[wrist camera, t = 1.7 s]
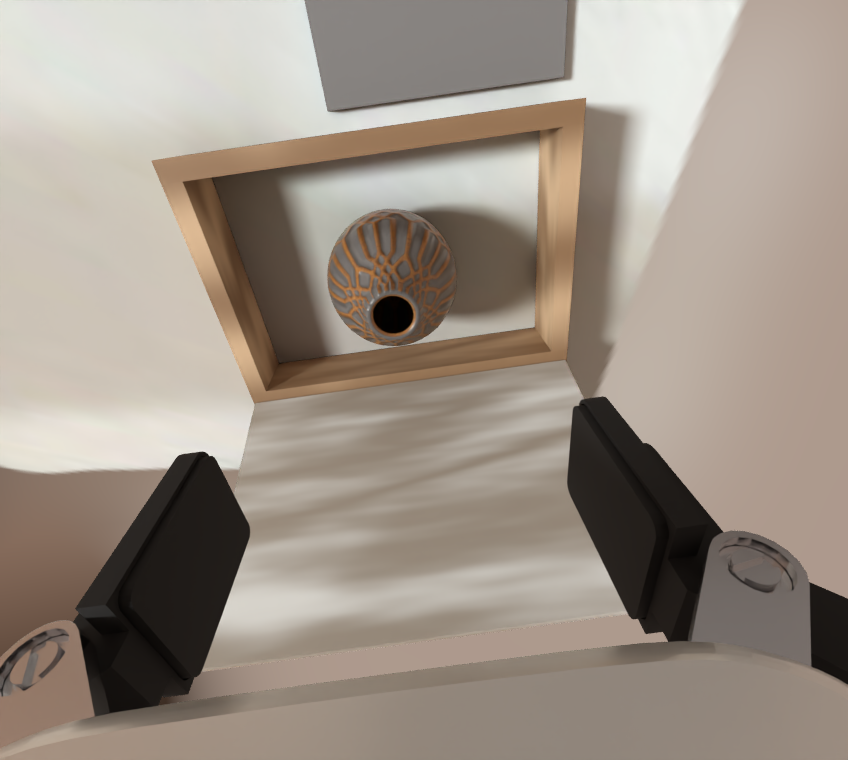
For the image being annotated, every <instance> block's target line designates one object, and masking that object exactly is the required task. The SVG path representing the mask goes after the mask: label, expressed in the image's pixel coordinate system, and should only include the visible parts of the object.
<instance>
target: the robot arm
mask: <svg viewBox="0 0 848 760" xmlns="http://www.w3.org/2000/svg"><path fill="white" fill-rule="evenodd" d="M567 486H568V491H569V494H570V496H571V498H572V500H573V502H574V504H575V506H576V509H577V511H578V513H579V515H580V517H581V519H582V521H583V523H584V525H585V527H586V529H587V531H588V533H589V535H590V537H591V539H592V541H593V543H594V546H595V548H596V550H597V552H598V554H599V556H600V558H601V560H602V562H603V564H604V566H605V568H606V570H607V572H608V574H609V576H610V578H611V580H612V582H613V585H614V587H615V589H616V591H617V593H618V595H619V597H620V599H621V601H622V603H623V605H624V607H625V609H626V611H627V613H628V614H629V616H630V617H631V618H632V619H638V620H639V622H640V624H641V626H642V628H643V630H644V632H645V633H646V634H648V633H657V632H663V633H664V634H665V636H666V638H667V640H668V642H657V643H640V644H631V645H621V646H612V647H602V648H593V649H584V650H574V651H566V652H558V653H549V654H541V655H534V656H525V657H517V658H510V659H502V660H494V661H486V662H478V663H470V664H462V665H454V666H446V667H438V668H431V669H423V670H415V671H408V672H400V673H392V674H385V675H377V676H369V677H362V678H354V679H348V680H340V681H332V682H324V683H317V684H310V685H302V686H295V687H287V688H280V689H272V690H265V691H259V692H251V693H243V694H236V695H229V696H222V697H214V698H207V699H200V700H192V701H185V702H179V703H172V704H166V705H160V706H158V705H159V703H160V700H161V698H162V696H163V697H171V696H178V695H185V694H188V693H189V690H190V687H191V685H192V682H193V679H194V677H197V676H198V675H199V674H200V673H201V671H202V669H203V667H204V664H205V662H206V659H207V656H208V653H209V650H210V648H211V645H212V642H213V639H214V636H215V634H216V631H217V628H218V625H219V622H220V620H221V617H222V614H223V611H224V608H225V605H226V603H227V600H228V597H229V594H230V591H231V589H232V586H233V583H234V580H235V577H236V575H237V572H238V569H239V566H240V563H241V561H242V558H243V555H244V552H245V549H246V547H247V544H248V541H249V538H250V526H249V523H248V521H247V519H246V517H245V515H244V513H243V512H242V510H241V508H240V506H239V504H238V502H237V500H236V498H235V496H234V494H233V492H232V490H231V488H230V486H229V485H228V482H227V480H226V478H225V476H224V475H223V473H222V471H221V469H220V467H219V465H218V463H217V461H216V459H215V458H214V457H213V456H209V455H208V454H207V453H206V452H196V453H189V454H182V455H179V456H178V457H177V458H176V459H175V461H174V462H173V464H172V465H171V467H170V468H169V470H168V471H167V473H166V474H165V476H164V477H163V479H162V480H161V482H160V483H159V485H158V486H157V488H156V489H155V491H154V492H153V494H152V495H151V497H150V498H149V499H148V501H147V503H146V504H145V505H144V507H143V509H142V510H141V511H140V513H139V514H138V516H137V517H136V519H135V520H134V522H133V523H132V525H131V526H130V528H129V530H128V531H127V532H126V534H125V535H124V537H123V538H122V540H121V541H120V543H119V544H118V546H117V547H116V549H115V550H114V552H113V553H112V555H111V556H110V558H109V559H108V561H107V562H106V564H105V565H104V567H103V568H102V570H101V571H100V573H99V574H98V576H97V577H96V579H95V580H94V582H93V583H92V585H91V586H90V587H89V589H88V591H87V592H86V593H85V595H84V596H83V598H82V599H81V601H80V602H79V604H78V605H77V607H76V608H75V609H76V610H77V611H78V612H79V614H78V616H77V617H76V618H75V620H74V622H70V621H67V620H66V621H56V622H52V623H49V624H46V625H44V626H42V627H40V628H38V629H36V630H34V631H32V632H31V633H29V634H28V635H26V636H25V637H23V638H22V639H21V640H19V641H18V642H16V643H15V644H14V645H13V646H12V647H11V648H10V649H9V650H8V651H7V652H6V653H5V654H3V655H2V657H1V658H0V760H848V599H847V598H845V597H843V596H840V595H838V594H835V593H833V592H831V591H829V590H826V589H824V588H822V587H819V586H817V585H814V584H812V583H810V582H809V580H808V576H807V573H806V571H805V570H804V568H803V567H802V565H801V563H800V562H799V561H798V560H797V559H796V558H795V557H794V556H793V555H792V554H791V553H790V552H789V551H788V550H786V549H785V548H783V547H782V546H780V545H778V544H777V543H775V542H774V541H771V540H769V539H767V538H765V537H763V536H760V535H757V534H753V533H749V532H745V531H728V532H723V531H722V530H721V529H720V527H719V526H718V525H717V524H716V523H715V521H714V520H713V519H712V518H711V517H710V515H709V514H708V513H707V512H706V510H705V509H704V508H703V507H702V506H701V504H700V503H699V502H698V501H697V500H696V498H695V497H694V496H693V495H692V494H691V492H690V491H689V490H688V489H687V487H686V486H685V485H684V484H683V483H682V482H681V480H680V479H679V478H678V477H677V476H676V474H675V473H674V472H673V471H672V470H671V468H670V467H669V466H668V464H667V463H666V462H665V461H664V460H663V458H662V457H661V456H660V455H659V454H658V452H657V451H656V450H655V449H654V448H653V447H652V446H651V445H649V444H647V443H642V441H641V440H640V439H639V438H638V436H637V435H636V434H635V433H634V431H633V430H632V429H631V428H630V427H629V425H628V424H627V423H626V421H625V420H624V419H623V418H622V417H621V415H620V414H619V413H618V411H617V410H616V409H615V408H614V406H613V405H612V404H611V403H610V401H609V400H608V399H607V398H606V397H596V398H589V399H582V400H581V401H580V403H579V406H574V408H573V412H572V425H571V438H570V450H569V463H568V475H567Z"/></svg>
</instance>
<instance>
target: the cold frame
mask: <svg viewBox="0 0 848 760" xmlns="http://www.w3.org/2000/svg"><path fill="white" fill-rule="evenodd" d="M585 106H586V98H582V99H574V100H565V101H557V102H551V103H544V104H537V105H530V106H523V107H516V108H509V109H502V110H495V111H488V112H481V113H474V114H467V115H461V116H454V117H447V118H440V119H433V120H426V121H419V122H412V123H405V124H398V125H391V126H384V127H377V128H371V129H364V130H357V131H350V132H343V133H336V134H329V135H322V136H315V137H308V138H301V139H294V140H287V141H281V142H274V143H267V144H260V145H253V146H246V147H239V148H232V149H225V150H218V151H211V152H204V153H197V154H191V155H184V156H178V157H171V158H165V159H159V160H153V161H152V163H153V166H154V168H155V170H156V173H157V175H158V177H159V180H160V182H161V184H162V187H163V189H164V192H165V194H166V196H167V199H168V201H169V203H170V206H171V208H172V210H173V213H174V215H175V218H176V220H177V222H178V225H179V227H180V229H181V232H182V234H183V236H184V239H185V241H186V244H187V246H188V248H189V251H190V253H191V255H192V258H193V260H194V262H195V265H196V267H197V269H198V272H199V274H200V277H201V279H202V281H203V284H204V286H205V288H206V291H207V293H208V295H209V298H210V300H211V303H212V305H213V307H214V310H215V312H216V314H217V317H218V319H219V321H220V324H221V326H222V328H223V331H224V333H225V336H226V338H227V340H228V343H229V345H230V347H231V350H232V352H233V354H234V357H235V359H236V362H237V364H238V366H239V369H240V371H241V373H242V376H243V378H244V380H245V383H246V385H247V387H248V390H249V392H250V395H251V397H252V399H253V402H254V404H255V406H254V411H253V415H252V419H251V423H250V427H249V432H248V436H247V440H246V444H245V449H244V453H243V457H242V461H241V466H240V470H239V474H238V479H237V483H236V487H235V491H234V496H235V498H236V500H237V502H238V504H239V506H240V508H241V510H242V512H243V513H244V515H245V517H246V519H247V521H248V523H249V526H250V538H249V541H248V544H247V547H246V549H245V552H244V555H243V558H242V561H241V563H240V566H239V569H238V572H237V575H236V577H235V580H234V583H233V586H232V589H231V591H230V594H229V597H228V600H227V603H226V605H225V608H224V611H223V614H222V617H221V620H220V622H219V625H218V628H217V631H216V634H215V636H214V639H213V642H212V645H211V648H210V650H209V653H208V656H207V659H206V662H205V664H204V667H203V669H202V671H201V672H204V671H211V670H219V669H226V668H233V667H240V666H248V665H256V664H263V663H270V662H277V661H285V660H292V659H300V658H306V657H314V656H321V655H329V654H337V653H344V652H352V651H359V650H366V649H374V648H381V647H388V646H395V645H403V644H410V643H418V642H425V641H432V640H440V639H448V638H455V637H462V636H469V635H477V634H484V633H492V632H499V631H506V630H513V629H521V628H529V627H536V626H543V625H551V624H558V623H565V622H573V621H580V620H588V619H594V618H602V617H609V616H617V615H624V614H628V613H627V611H626V609H625V607H624V605H623V603H622V601H621V599H620V597H619V595H618V593H617V591H616V589H615V587H614V585H613V582H612V580H611V578H610V576H609V574H608V572H607V570H606V568H605V566H604V564H603V562H602V560H601V558H600V556H599V554H598V552H597V550H596V548H595V546H594V543H593V541H592V539H591V537H590V535H589V533H588V531H587V529H586V527H585V525H584V523H583V521H582V519H581V517H580V515H579V513H578V511H577V509H576V506H575V504H574V502H573V500H572V498H571V496H570V494H569V491H568V486H567V475H568V463H569V450H570V438H571V425H572V412H573V408H574V406H579V403H580V401H581V400H582V399H584V398H583V396H582V394H581V391H580V389H579V387H578V385H577V383H576V381H575V379H574V377H573V375H572V372H571V370H570V368H569V366H568V364H567V362H566V361H567V347H568V334H569V321H570V307H571V294H572V280H573V267H574V254H575V240H576V227H577V214H578V200H579V187H580V173H581V160H582V147H583V133H584V120H585ZM537 130H540V144H539V183H538V222H537V261H536V300H535V328H529V329H522V330H515V331H507V332H500V333H493V334H486V335H479V336H472V337H465V338H458V339H451V340H443V341H436V342H429V343H422V344H415V345H408V346H401V347H394V348H387V349H379V350H372V351H365V352H358V353H351V354H344V355H337V356H330V357H323V358H315V359H308V360H301V361H294V362H287V363H280V364H279V363H278V360H277V357H276V355H275V352H274V349H273V346H272V344H271V341H270V338H269V335H268V332H267V330H266V327H265V324H264V321H263V319H262V316H261V313H260V310H259V308H258V305H257V302H256V299H255V296H254V294H253V291H252V288H251V285H250V283H249V280H248V277H247V274H246V272H245V269H244V266H243V263H242V260H241V258H240V255H239V252H238V249H237V247H236V244H235V241H234V238H233V235H232V233H231V230H230V227H229V224H228V222H227V219H226V216H225V213H224V211H223V208H222V205H221V202H220V199H219V197H218V194H217V191H216V188H215V186H214V183H213V180H212V177H218V176H225V175H232V174H239V173H246V172H253V171H260V170H267V169H273V168H280V167H287V166H294V165H301V164H308V163H315V162H322V161H329V160H336V159H343V158H350V157H357V156H364V155H371V154H378V153H385V152H392V151H398V150H405V149H412V148H419V147H426V146H433V145H440V144H447V143H454V142H461V141H468V140H475V139H482V138H489V137H496V136H503V135H510V134H517V133H523V132H530V131H537Z"/></svg>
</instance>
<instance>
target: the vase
mask: <svg viewBox="0 0 848 760" xmlns="http://www.w3.org/2000/svg"><path fill="white" fill-rule="evenodd" d="M327 276H328V288H329V293H330V296H331V300H332V302H333V305H334V307H335V309H336V311H337V313H338V314H339V316H340V317H341V319H342V320H343V321H344V323H345V324H346V325H347V326H348V327H349V328H350V329H351V330H352V331H353V332H355V333H356V334H357V335H359V336H361V337H362V338H364V339H366V340H368V341H370V342H373V343H376V344H380V345H387V346H400V345H406V344H410V343H413V342H416V341H418V340H420V339H422V338H424V337H426V336H427V335H429V334H430V333H431V332H433V331H434V330H435V329H436V328H437V327H438V326H439V325H440V324H441V322H442V321H443V320H444V318H445V317H446V315H447V313H448V312H449V310H450V307H451V305H452V303H453V299H454V296H455V291H456V283H457V273H456V266H455V261H454V258H453V255H452V252H451V250H450V248H449V246H448V244H447V242H446V240H445V239H444V237H443V236H442V235H441V233H440V232H439V231H438V230H437V229H436V228H435V227H434V226H433V225H432V224H431V223H429V222H428V221H427V220H425V219H424V218H422V217H420V216H418V215H416V214H414V213H411V212H408V211H404V210H399V209H383V210H377V211H374V212H371V213H368V214H366V215H364V216H362V217H360V218H358V219H357V220H355V221H354V222H353V223H352V224H351V225H349V226H348V227H347V228H346V229H345V231H344V232H343V233H342V234H341V236H340V237H339V239H338V240H337V242H336V244H335V246H334V248H333V250H332V253H331V256H330V260H329V264H328V274H327Z"/></svg>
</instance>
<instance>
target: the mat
mask: <svg viewBox="0 0 848 760" xmlns="http://www.w3.org/2000/svg"><path fill="white" fill-rule="evenodd" d="M305 4H306V9H307V14H308V19H309V24H310V28H311V33H312V38H313V43H314V48H315V53H316V57H317V62H318V67H319V72H320V77H321V81H322V86H323V91H324V96H325V101H326V106H327V110H328V111H335V110H342V109H349V108H356V107H363V106H369V105H376V104H383V103H390V102H397V101H404V100H411V99H418V98H425V97H432V96H438V95H445V94H452V93H459V92H466V91H473V90H480V89H487V88H494V87H501V86H508V85H514V84H521V83H528V82H535V81H542V80H549V79H556V78H562V77H564V66H565V46H566V25H567V5H568V0H305Z"/></svg>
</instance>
